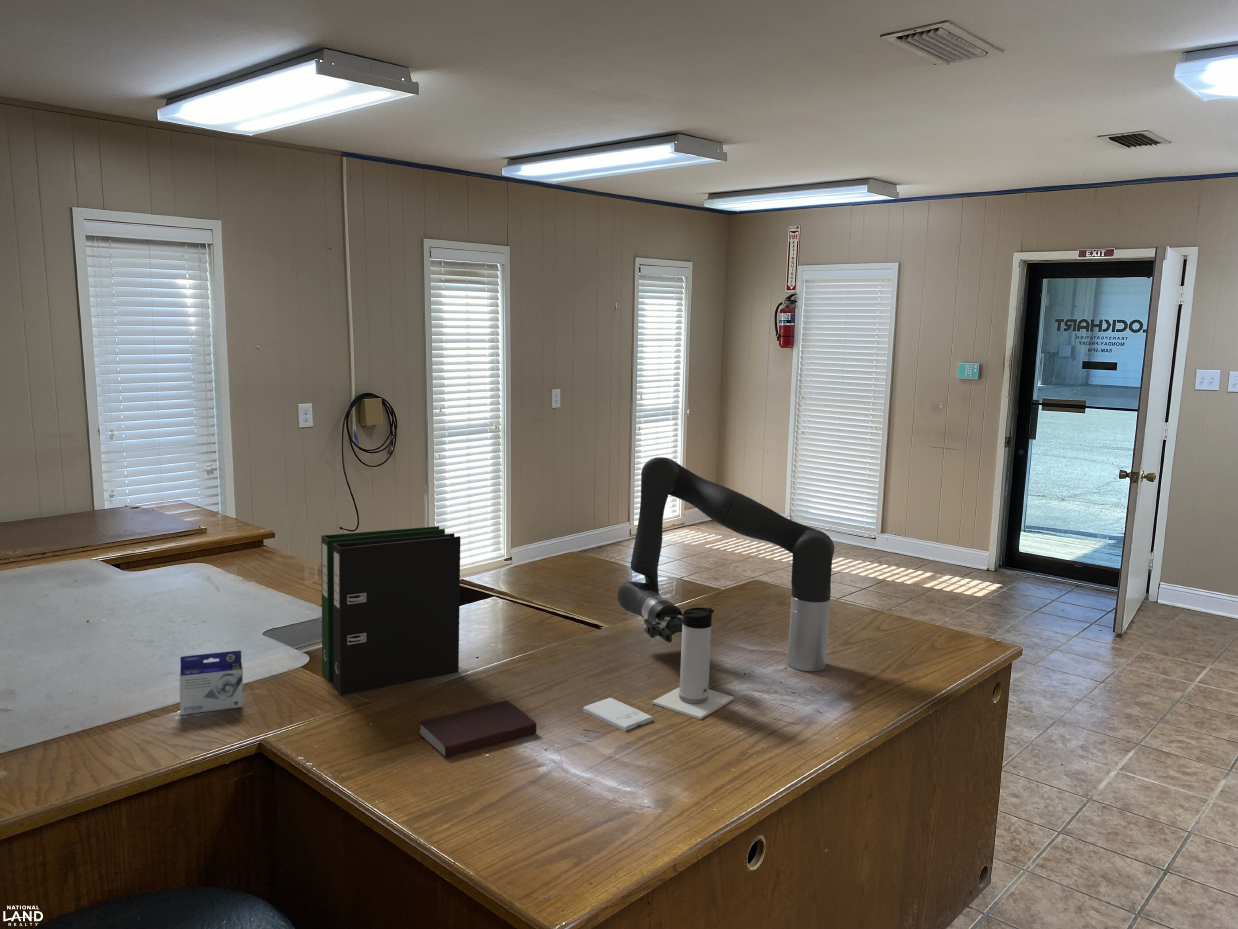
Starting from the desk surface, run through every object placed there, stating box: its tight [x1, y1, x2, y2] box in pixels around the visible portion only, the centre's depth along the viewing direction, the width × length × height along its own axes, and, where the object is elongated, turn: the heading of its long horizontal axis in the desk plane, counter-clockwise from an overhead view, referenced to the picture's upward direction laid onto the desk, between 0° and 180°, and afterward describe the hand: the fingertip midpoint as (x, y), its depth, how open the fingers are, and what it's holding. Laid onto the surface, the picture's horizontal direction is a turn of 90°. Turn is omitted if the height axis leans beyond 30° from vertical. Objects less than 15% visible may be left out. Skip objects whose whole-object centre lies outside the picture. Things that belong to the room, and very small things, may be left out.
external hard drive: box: [582, 697, 654, 732], centre depth 176 cm, size 2×8×12 cm
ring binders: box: [320, 525, 462, 697], centre depth 192 cm, size 27×15×32 cm, turn 124°
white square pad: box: [651, 686, 734, 720], centre depth 185 cm, size 14×12×1 cm
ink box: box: [179, 649, 244, 716], centre depth 171 cm, size 12×2×12 cm, turn 117°
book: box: [417, 700, 537, 759], centre depth 165 cm, size 12×19×3 cm, turn 126°
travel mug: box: [679, 606, 715, 704], centre depth 184 cm, size 6×7×20 cm
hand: (688, 637), depth 187 cm, fingers open, 8 cm apart
